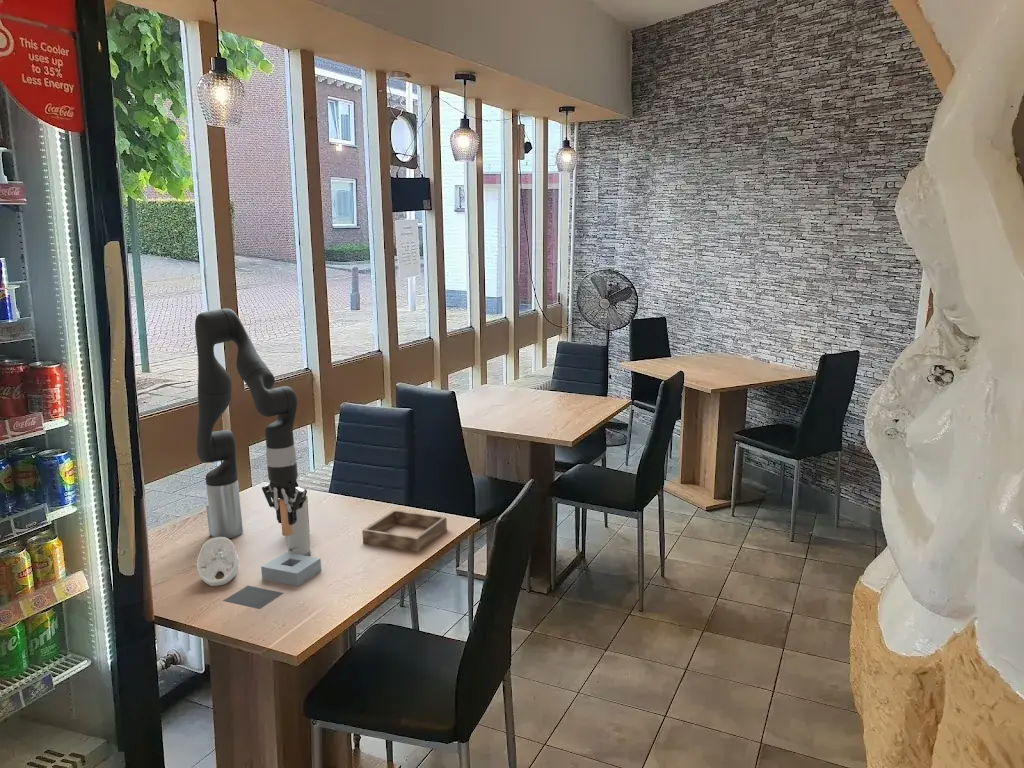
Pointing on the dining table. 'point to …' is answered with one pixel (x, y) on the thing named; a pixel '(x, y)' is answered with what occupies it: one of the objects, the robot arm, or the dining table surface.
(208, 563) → the skull bowl
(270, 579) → the block
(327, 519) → the dining table surface
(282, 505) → the peg
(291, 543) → the travel mug
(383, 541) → the square wooden frame
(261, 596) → the mat
